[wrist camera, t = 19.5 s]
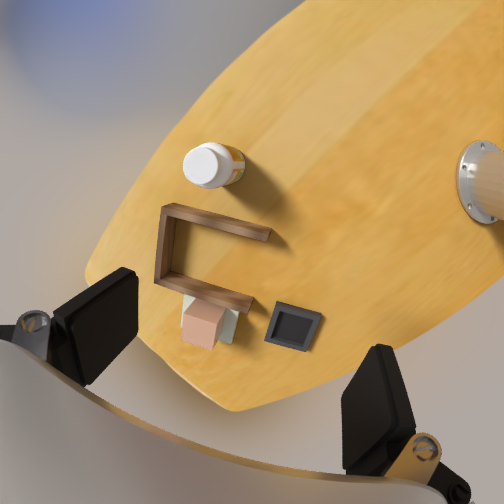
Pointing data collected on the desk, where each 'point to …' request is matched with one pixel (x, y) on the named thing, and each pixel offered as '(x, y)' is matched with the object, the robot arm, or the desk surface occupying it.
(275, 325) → the dark gray rectangular tray
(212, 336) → the terracotta cube
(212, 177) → the supplement bottle
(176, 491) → the robot arm
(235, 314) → the sage tile
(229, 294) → the wooden tray frame
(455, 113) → the desk surface
